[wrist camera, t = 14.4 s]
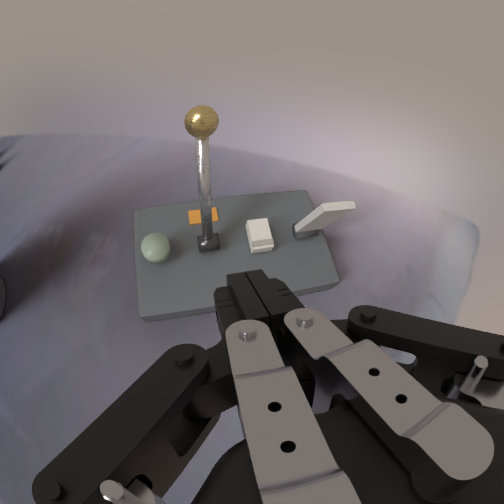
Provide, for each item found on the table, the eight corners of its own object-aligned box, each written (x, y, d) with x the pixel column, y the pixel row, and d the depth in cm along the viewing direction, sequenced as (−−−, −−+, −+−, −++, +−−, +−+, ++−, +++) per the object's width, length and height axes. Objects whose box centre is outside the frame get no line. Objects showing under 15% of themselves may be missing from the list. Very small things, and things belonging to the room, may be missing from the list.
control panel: (330, 288, 36) (340, 280, 33) (145, 322, 30) (139, 316, 28) (300, 201, 41) (306, 189, 38) (138, 222, 36) (133, 209, 33)
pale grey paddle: (316, 237, 35) (357, 214, 25) (291, 241, 34) (326, 217, 24) (313, 222, 35) (352, 195, 26) (288, 225, 34) (321, 197, 25)
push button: (173, 265, 31) (170, 256, 28) (146, 269, 30) (141, 260, 28) (170, 241, 32) (167, 230, 30) (145, 245, 31) (140, 234, 29)
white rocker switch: (270, 250, 33) (274, 245, 31) (251, 253, 32) (254, 248, 31) (264, 223, 34) (267, 216, 32) (245, 225, 33) (247, 219, 32)
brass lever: (224, 256, 31) (221, 107, 20) (197, 260, 30) (184, 110, 19) (219, 239, 33) (216, 101, 22) (194, 242, 33) (183, 104, 21)
